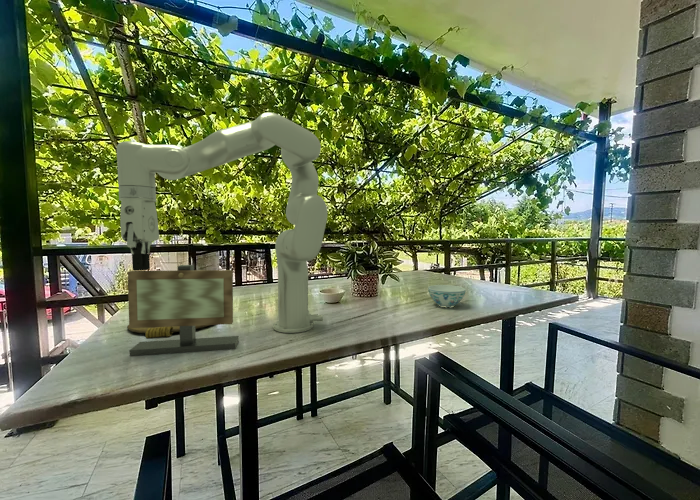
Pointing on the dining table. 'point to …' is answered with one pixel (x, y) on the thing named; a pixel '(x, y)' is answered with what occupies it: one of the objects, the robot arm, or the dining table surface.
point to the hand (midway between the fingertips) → (141, 269)
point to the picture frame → (180, 298)
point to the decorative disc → (160, 330)
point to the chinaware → (446, 294)
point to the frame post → (185, 340)
